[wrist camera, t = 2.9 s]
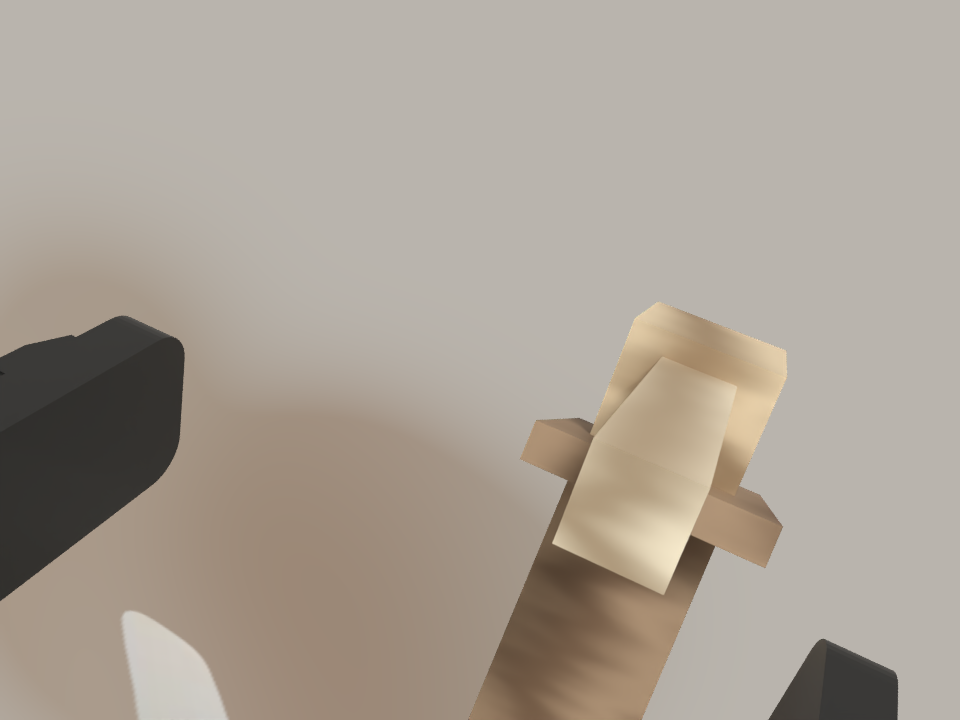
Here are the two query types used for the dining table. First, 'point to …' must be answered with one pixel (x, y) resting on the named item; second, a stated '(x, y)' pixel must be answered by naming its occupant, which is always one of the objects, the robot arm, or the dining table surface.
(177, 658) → the dining table surface
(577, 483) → the mallet
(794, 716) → the robot arm
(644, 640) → the stand
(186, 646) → the dining table surface
